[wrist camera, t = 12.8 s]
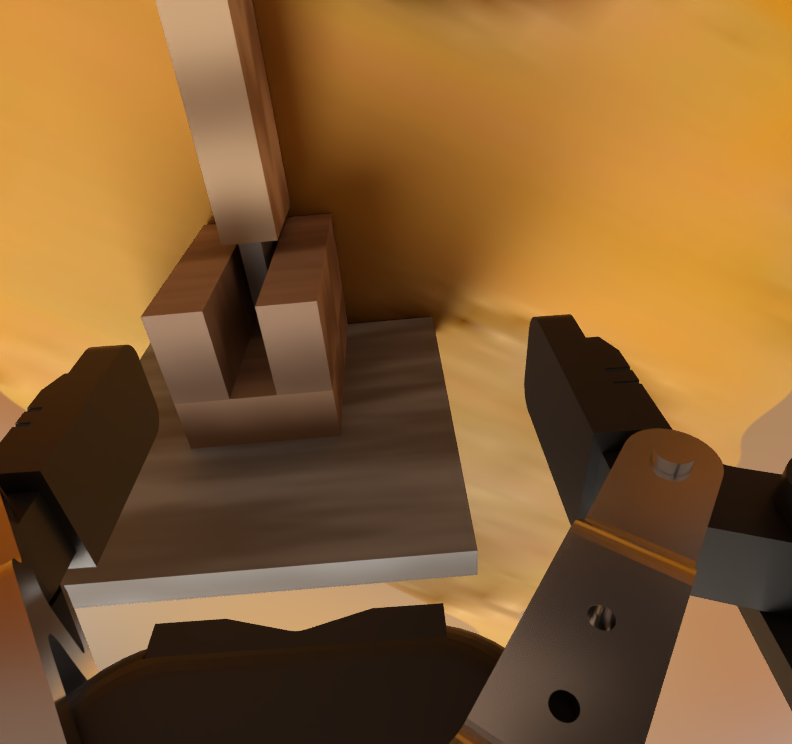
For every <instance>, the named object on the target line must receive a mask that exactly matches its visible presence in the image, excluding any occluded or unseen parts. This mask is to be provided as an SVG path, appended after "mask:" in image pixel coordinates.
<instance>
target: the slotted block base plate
mask: <svg viewBox="0 0 792 744" xmlns="http://www.w3.org/2000/svg"><path fill="white" fill-rule="evenodd" d="M255 309H256V310H255ZM141 319H142V321H143V324H144V327H145V329H146V332H147V335H148V337H149V340H150V342H151V343H150V345H149V346H148V348H147V349H146V351H145V353H144V354H143V356H142V358H141V359H140V362H141V365H142V367H143V370H144V373H145V375H146V378H147V380H148V383H149V386H150V388H151V391H152V393H153V396H154V399H155V401H156V404H157V407H158V412H159V429H158V433H157V436H156V438H155V440H154V443H153V445H152V447H151V449H150V451H149V453H148V456H147V458H146V460H145V462H144V464H143V467H142V469H141V471H140V473H139V475H138V477H137V480H136V482H135V484H134V486H133V488H132V490H131V493H130V495H129V497H128V499H127V501H126V504H125V506H124V508H123V510H122V512H121V514H120V517H119V519H118V521H117V523H116V525H115V528H114V530H113V532H112V534H111V536H110V538H109V541H108V543H107V545H106V547H105V549H104V552H103V554H102V556H101V558H100V560H99V562H98V565H97V567H87V568H73V569H67V571H66V573H65V575H64V577H63V579H62V581H61V582H62V584H63V585H64V587H65V588H66V590H67V592H68V594H69V597H70V600H71V602H72V605H73V607H74V608H86V607H98V606H109V605H121V604H133V603H145V602H157V601H168V600H180V599H193V598H204V597H217V596H229V595H240V594H252V593H265V592H276V591H287V590H288V591H289V590H301V589H312V588H324V587H336V586H348V585H360V584H371V583H384V582H396V581H408V580H420V579H432V578H444V577H456V576H468V575H477V556H478V551H477V545H476V540H475V535H474V530H473V525H472V520H471V514H470V509H469V504H468V499H467V494H466V488H465V483H464V478H463V473H462V468H461V463H460V457H459V452H458V447H457V442H456V437H455V432H454V426H453V421H452V416H451V411H450V406H449V400H448V395H447V390H446V385H445V380H444V375H443V369H442V364H441V359H440V354H439V349H438V344H437V338H436V333H435V328H434V323H433V318H432V317H424V318H412V319H401V320H390V321H379V322H367V323H356V324H348V323H347V316H346V310H345V303H344V296H343V289H342V282H341V275H340V269H339V262H338V255H337V248H336V241H335V235H334V228H333V221H332V214H331V213H328V214H317V215H306V216H295V217H287V218H286V221H285V224H284V227H283V230H282V232H281V235H280V238H279V241H278V244H277V246H276V249H275V252H274V255H273V258H272V261H271V263H270V266H269V269H268V272H267V275H266V277H265V280H264V283H263V286H262V289H261V291H260V294H259V297H258V300H257V303H256V305H255V308H254V304H253V300H252V296H251V292H250V288H249V284H248V280H247V276H246V272H245V268H244V264H243V260H242V257H241V253H240V249H239V245H238V244H233V245H221V242H220V238H219V234H218V230H217V227H216V224H207V225H204V226H203V228H202V229H201V231H200V232H199V234H198V235H197V236H196V238H195V239H194V241H193V242H192V244H191V245H190V247H189V248H188V249H187V251H186V252H185V254H184V255H183V257H182V258H181V260H180V261H179V262H178V264H177V265H176V267H175V268H174V270H173V271H172V273H171V274H170V275H169V277H168V278H167V280H166V281H165V283H164V284H163V286H162V287H161V288H160V290H159V291H158V293H157V294H156V296H155V297H154V299H153V300H152V301H151V303H150V304H149V306H148V307H147V309H146V310H145V312H144V313H143V314H142V316H141Z"/></svg>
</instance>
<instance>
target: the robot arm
mask: <svg viewBox="0 0 792 744" xmlns="http://www.w3.org/2000/svg"><path fill="white" fill-rule="evenodd" d="M524 388H525V399H526V405H527V409H528V412H529V414H530V417H531V420H532V422H533V425H534V428H535V430H536V433H537V436H538V438H539V441H540V444H541V447H542V449H543V452H544V455H545V457H546V460H547V463H548V465H549V468H550V471H551V473H552V476H553V479H554V481H555V484H556V487H557V490H558V492H559V495H560V498H561V500H562V503H563V506H564V508H565V511H566V514H567V516H568V519H569V522H570V524H571V528H570V529H569V531H568V533H567V535H566V537H565V538H564V540H563V542H562V544H561V546H560V548H559V549H558V551H557V553H556V555H555V557H554V559H553V561H552V562H551V564H550V566H549V568H548V570H547V572H546V573H545V575H544V577H543V579H542V581H541V583H540V585H539V586H538V588H537V590H536V592H535V594H534V596H533V597H532V599H531V601H530V603H529V605H528V607H527V609H526V610H525V612H524V614H523V616H522V618H521V620H520V621H519V623H518V625H517V627H516V629H515V631H514V633H513V634H512V636H511V638H510V640H509V642H508V644H507V645H506V647H505V648H504V647H502V646H501V645H499V644H497V643H496V642H494V641H492V640H490V639H487V638H485V637H483V636H481V635H478V634H476V633H473V632H470V631H466V630H463V629H460V628H455V627H450V626H446V623H445V615H444V606H443V603H441V604H427V605H414V606H399V607H386V608H372V609H369V610H366V611H363V612H360V613H356V614H353V615H350V616H347V617H344V618H341V619H338V620H334V621H331V622H328V623H325V624H322V625H319V626H316V627H312V628H310V629H306V630H302V631H287V630H282V629H277V628H272V627H266V626H261V625H256V624H250V623H245V622H240V621H235V620H229V619H219V620H204V621H191V622H176V623H163V624H155V626H154V629H153V632H152V636H151V639H150V642H149V645H148V648H147V649H146V650H143V651H140V652H137V653H135V654H133V655H131V656H128V657H126V658H124V659H122V660H120V661H118V662H116V663H114V664H112V665H111V666H109V667H107V668H105V669H104V670H102V671H101V672H99V671H98V669H97V666H96V664H95V662H94V659H93V657H92V654H91V651H90V649H89V646H88V644H87V641H86V638H85V636H84V633H83V631H82V628H81V625H80V623H79V620H78V618H77V615H76V613H75V610H74V607H73V605H72V602H71V600H70V597H69V594H68V592H67V590H66V588H65V587H64V585H63V584H62V582H61V581H62V579H63V577H64V575H65V573H66V571H67V569H73V568H87V567H97V565H98V562H99V560H100V558H101V556H102V554H103V552H104V549H105V547H106V545H107V543H108V541H109V538H110V536H111V534H112V532H113V530H114V528H115V525H116V523H117V521H118V519H119V517H120V514H121V512H122V510H123V508H124V506H125V504H126V501H127V499H128V497H129V495H130V493H131V490H132V488H133V486H134V484H135V482H136V480H137V477H138V475H139V473H140V471H141V469H142V467H143V464H144V462H145V460H146V458H147V456H148V453H149V451H150V449H151V447H152V445H153V443H154V440H155V438H156V436H157V433H158V429H159V412H158V407H157V404H156V401H155V399H154V396H153V393H152V391H151V388H150V386H149V383H148V380H147V378H146V375H145V373H144V370H143V367H142V365H141V362H140V360H139V357H138V355H137V353H136V351H135V349H134V348H133V347H132V346H130V345H117V346H102V347H91V348H88V349H87V350H86V351H85V352H84V353H83V355H82V356H81V357H80V358H79V360H78V361H77V362H76V364H75V365H74V366H73V368H72V369H71V370H70V372H69V373H67V374H63V375H62V376H60V377H59V378H58V379H56V380H55V381H54V382H52V383H51V384H49V385H48V386H47V387H45V388H44V389H42V390H41V391H40V393H39V394H38V395H37V396H36V398H35V399H34V400H33V402H32V403H31V404H30V405H29V407H28V408H27V409H28V411H27V412H24V413H23V414H22V415H21V417H20V418H19V419H18V421H17V422H16V427H12V428H11V429H10V431H9V432H8V433H7V435H6V436H5V437H4V438H3V440H2V441H1V442H0V744H645V741H646V737H647V734H648V731H649V728H650V725H651V721H652V718H653V715H654V711H655V708H656V705H657V702H658V698H659V695H660V692H661V688H662V685H663V682H664V678H665V675H666V671H667V669H668V665H669V662H670V658H671V655H672V652H673V649H674V645H675V642H676V639H677V636H678V632H679V629H680V625H681V622H682V619H683V616H684V613H685V609H686V606H687V603H688V599H689V596H690V595H691V596H696V597H700V598H705V599H709V600H714V601H719V602H723V603H728V604H733V605H737V606H738V608H739V610H740V612H741V614H742V616H743V618H744V619H745V622H746V624H747V626H748V628H749V629H750V631H751V633H752V635H753V637H754V639H755V641H756V643H757V645H758V647H759V649H760V651H761V653H762V654H763V656H764V658H765V660H766V662H767V664H768V666H769V668H770V670H771V672H772V674H773V675H774V678H775V679H776V681H777V683H778V685H779V687H780V689H781V691H782V693H783V695H784V697H785V699H786V701H787V703H788V704H789V706H790V708H791V710H792V459H791V460H790V461H789V462H788V464H787V466H786V468H785V470H784V472H783V474H782V475H781V474H774V473H768V472H761V471H755V470H749V469H743V468H737V467H732V466H727V465H724V464H722V461H721V459H720V458H719V456H718V455H717V453H716V452H715V451H714V450H713V449H712V448H711V447H709V446H708V445H707V444H706V443H704V442H702V441H701V440H699V439H697V438H695V437H693V436H691V435H689V434H686V433H683V432H680V431H676V430H672V428H671V427H670V425H669V424H668V422H667V421H666V419H665V418H664V416H663V415H662V413H661V412H660V410H659V409H658V408H657V406H656V405H655V403H654V402H653V400H652V399H651V397H650V396H649V394H648V393H647V391H646V390H645V388H644V387H643V385H642V384H639V379H638V378H637V376H636V375H635V373H634V372H633V371H632V370H630V366H629V365H628V363H627V362H626V360H625V359H624V357H623V356H622V354H621V353H620V351H619V350H618V349H616V348H615V347H613V346H612V345H610V344H609V343H607V342H606V341H604V340H603V339H601V338H600V337H589V338H586V337H585V336H584V334H583V332H582V331H581V329H580V327H579V326H578V324H577V322H576V321H575V319H574V318H573V316H572V315H570V314H568V315H553V316H539V317H533V318H532V319H531V322H530V327H529V337H528V348H527V359H526V369H525V381H524Z"/></svg>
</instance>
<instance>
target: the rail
mask: <svg viewBox="0 0 792 744" xmlns="http://www.w3.org/2000/svg"><path fill="white" fill-rule="evenodd" d="M156 4H157V8H158V11H159V15H160V19H161V23H162V26H163V30H164V34H165V37H166V41H167V45H168V49H169V52H170V56H171V60H172V63H173V67H174V71H175V75H176V78H177V82H178V86H179V89H180V93H181V97H182V101H183V104H184V108H185V112H186V115H187V119H188V123H189V127H190V130H191V134H192V138H193V141H194V145H195V149H196V153H197V156H198V160H199V164H200V167H201V171H202V175H203V179H204V182H205V186H206V190H207V193H208V197H209V201H210V204H211V208H212V212H213V216H214V219H215V223H216V227H217V230H218V234H219V238H220V242H221V245H233V244H238V245H239V249H240V253H241V257H242V260H243V264H244V268H245V272H246V276H247V280H248V284H249V288H250V292H251V296H252V300H253V304H254V308H255V305H256V303H257V300H258V297H259V294H260V291H261V289H262V286H263V283H264V280H265V277H266V275H267V272H268V269H269V266H270V263H271V261H272V258H273V255H274V252H275V249H276V246H277V244H278V241H279V238H280V235H281V230H282V227H283V224H284V221H285V219H286V216H287V213H288V210H289V207H290V205H291V204H290V199H289V194H288V188H287V183H286V178H285V172H284V167H283V162H282V156H281V151H280V146H279V140H278V135H277V130H276V125H275V119H274V114H273V109H272V103H271V98H270V93H269V87H268V82H267V77H266V71H265V66H264V61H263V56H262V50H261V45H260V40H259V34H258V29H257V24H256V18H255V13H254V8H253V2H252V0H156ZM255 310H256V309H255Z"/></svg>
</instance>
